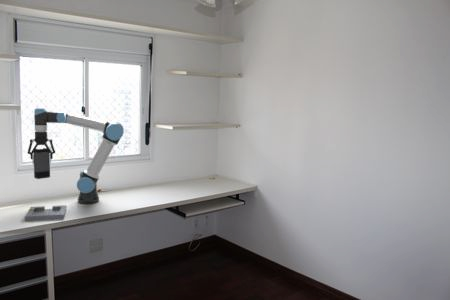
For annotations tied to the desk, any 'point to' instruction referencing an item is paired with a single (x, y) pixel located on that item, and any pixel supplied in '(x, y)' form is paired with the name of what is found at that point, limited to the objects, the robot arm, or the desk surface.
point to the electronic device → (41, 163)
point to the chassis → (45, 213)
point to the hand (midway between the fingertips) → (41, 163)
